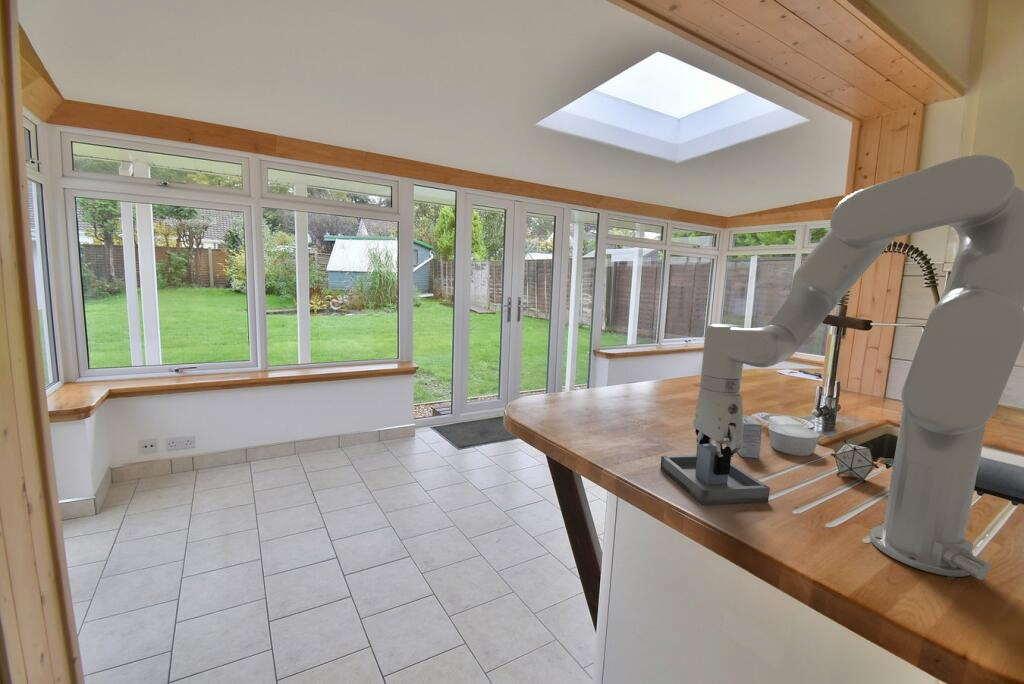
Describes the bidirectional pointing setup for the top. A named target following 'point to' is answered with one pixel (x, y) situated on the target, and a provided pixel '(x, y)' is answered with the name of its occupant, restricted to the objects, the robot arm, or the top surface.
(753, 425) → the medicine box
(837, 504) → the top surface
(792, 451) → the ramekin
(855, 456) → the game die
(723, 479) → the slate block
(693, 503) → the top surface
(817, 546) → the top surface
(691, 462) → the tray
